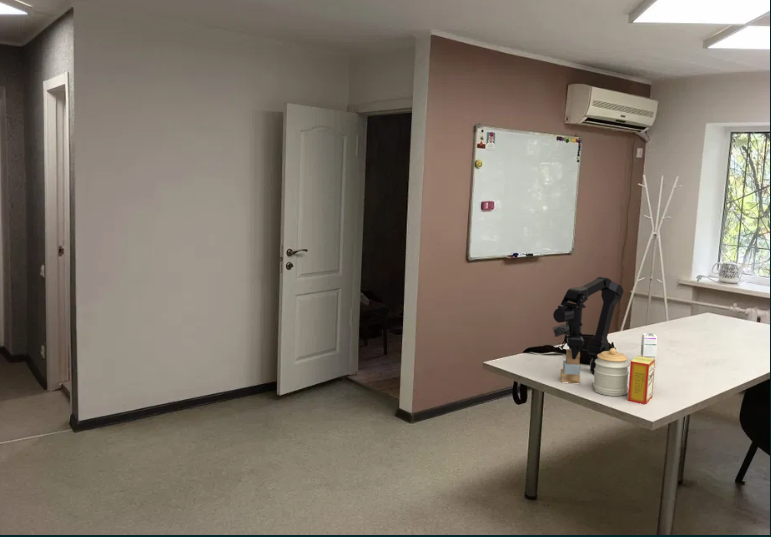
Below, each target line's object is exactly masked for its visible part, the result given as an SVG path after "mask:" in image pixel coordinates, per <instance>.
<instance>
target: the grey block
mask: <svg viewBox="0 0 771 537" xmlns="http://www.w3.org/2000/svg"><path fill="white" fill-rule="evenodd" d="M562 362H563V363H562V369H563V371H564V374H573V375H580V373H581V372H580V371H581V364H580V363H579V365H574V364H567V363H566V359H565V360H563V361H562ZM580 376H581V375H580Z"/></svg>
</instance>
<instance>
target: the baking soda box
mask: <svg viewBox="0 0 771 537" xmlns="http://www.w3.org/2000/svg"><path fill="white" fill-rule="evenodd" d="M655 368H656V367H655V359H654V358H648V357H643V356H641V355H637V356H635V357H634V358H633V359H632V360H630V363H629V376H628V391H627V401H628V402H631V403H636V404H640V403H641V405H645V404H646V405H647V404H648V403H649V402H650V401H651V400H650V399H652V398H653V393H654V392H653V391H654V381H655V380H654V379H655ZM649 400H650V401H649Z"/></svg>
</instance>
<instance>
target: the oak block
mask: <svg viewBox="0 0 771 537" xmlns="http://www.w3.org/2000/svg"><path fill="white" fill-rule="evenodd" d="M560 380H562V381H561V383H562V382H568V383H567V384H573V383H579V384H581V383H580V380H581V375H573V374H564V371H563V368H561V369H560Z"/></svg>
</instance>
